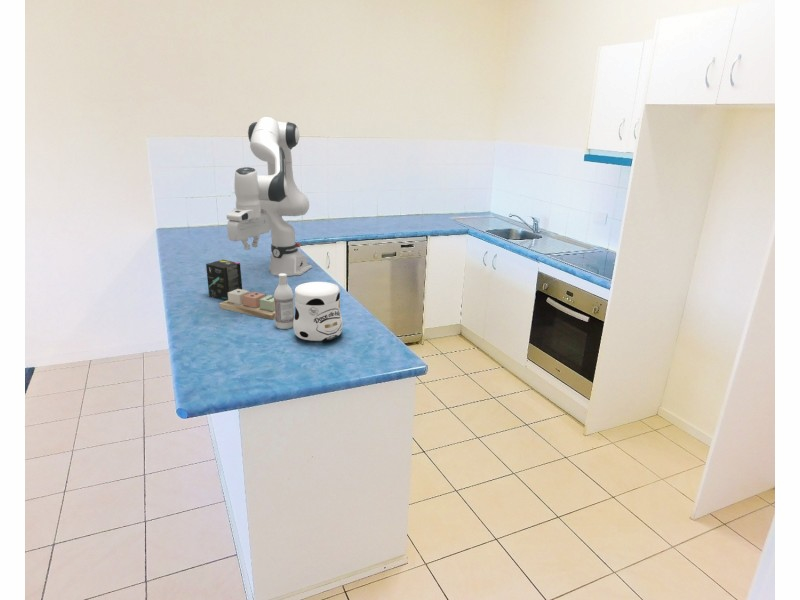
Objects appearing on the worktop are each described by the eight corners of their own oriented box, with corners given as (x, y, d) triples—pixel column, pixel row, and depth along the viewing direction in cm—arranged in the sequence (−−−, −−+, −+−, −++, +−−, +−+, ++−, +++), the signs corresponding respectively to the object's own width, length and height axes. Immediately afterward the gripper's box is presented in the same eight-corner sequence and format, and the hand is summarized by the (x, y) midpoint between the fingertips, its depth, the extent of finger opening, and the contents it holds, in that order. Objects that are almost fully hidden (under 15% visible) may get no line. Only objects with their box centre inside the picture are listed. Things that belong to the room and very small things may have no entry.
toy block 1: (238, 297, 220) (237, 288, 219) (250, 300, 218) (249, 290, 216) (228, 302, 215) (227, 292, 213) (240, 304, 212) (239, 294, 211)
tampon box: (243, 295, 229) (241, 262, 224) (226, 301, 221) (223, 267, 216) (225, 291, 234) (222, 258, 229) (208, 296, 226) (205, 263, 222)
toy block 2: (254, 301, 217) (253, 291, 215) (265, 303, 214) (265, 293, 213) (243, 305, 212) (243, 295, 210) (256, 308, 209) (255, 298, 208)
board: (240, 299, 224) (239, 295, 223) (291, 310, 214) (290, 305, 213) (219, 308, 214) (219, 303, 213) (272, 319, 203) (271, 314, 203)
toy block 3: (269, 304, 214) (269, 294, 212) (282, 306, 211) (281, 296, 210) (260, 308, 208) (259, 298, 207) (272, 311, 206) (271, 301, 205)
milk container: (333, 348, 180) (333, 298, 174) (285, 343, 184) (283, 293, 178) (348, 329, 196) (348, 283, 190) (304, 324, 200) (302, 278, 194)
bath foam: (277, 322, 201) (275, 271, 195) (296, 322, 201) (294, 271, 195) (273, 329, 195) (270, 276, 188) (292, 329, 195) (290, 277, 188)
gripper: (260, 207, 211) (262, 241, 215) (223, 215, 193) (226, 252, 198) (272, 209, 208) (274, 243, 213) (236, 217, 191) (239, 254, 195)
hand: (251, 248), depth 205 cm, fingers open, 3 cm apart
